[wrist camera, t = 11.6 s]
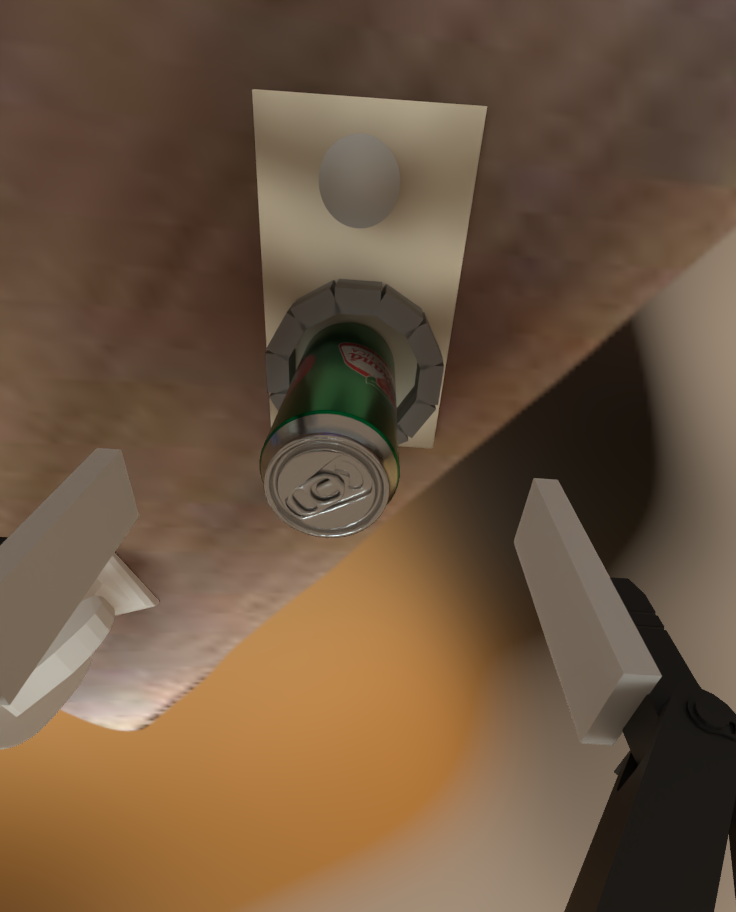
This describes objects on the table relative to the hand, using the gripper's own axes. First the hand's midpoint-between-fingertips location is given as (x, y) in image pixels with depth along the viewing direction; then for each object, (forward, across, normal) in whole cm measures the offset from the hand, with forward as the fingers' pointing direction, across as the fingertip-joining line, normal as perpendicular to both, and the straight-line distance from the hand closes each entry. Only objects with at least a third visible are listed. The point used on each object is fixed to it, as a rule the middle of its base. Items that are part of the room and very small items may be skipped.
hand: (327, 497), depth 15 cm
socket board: (+14, 0, +3) cm, 14 cm away
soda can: (+13, 0, 0) cm, 13 cm away
